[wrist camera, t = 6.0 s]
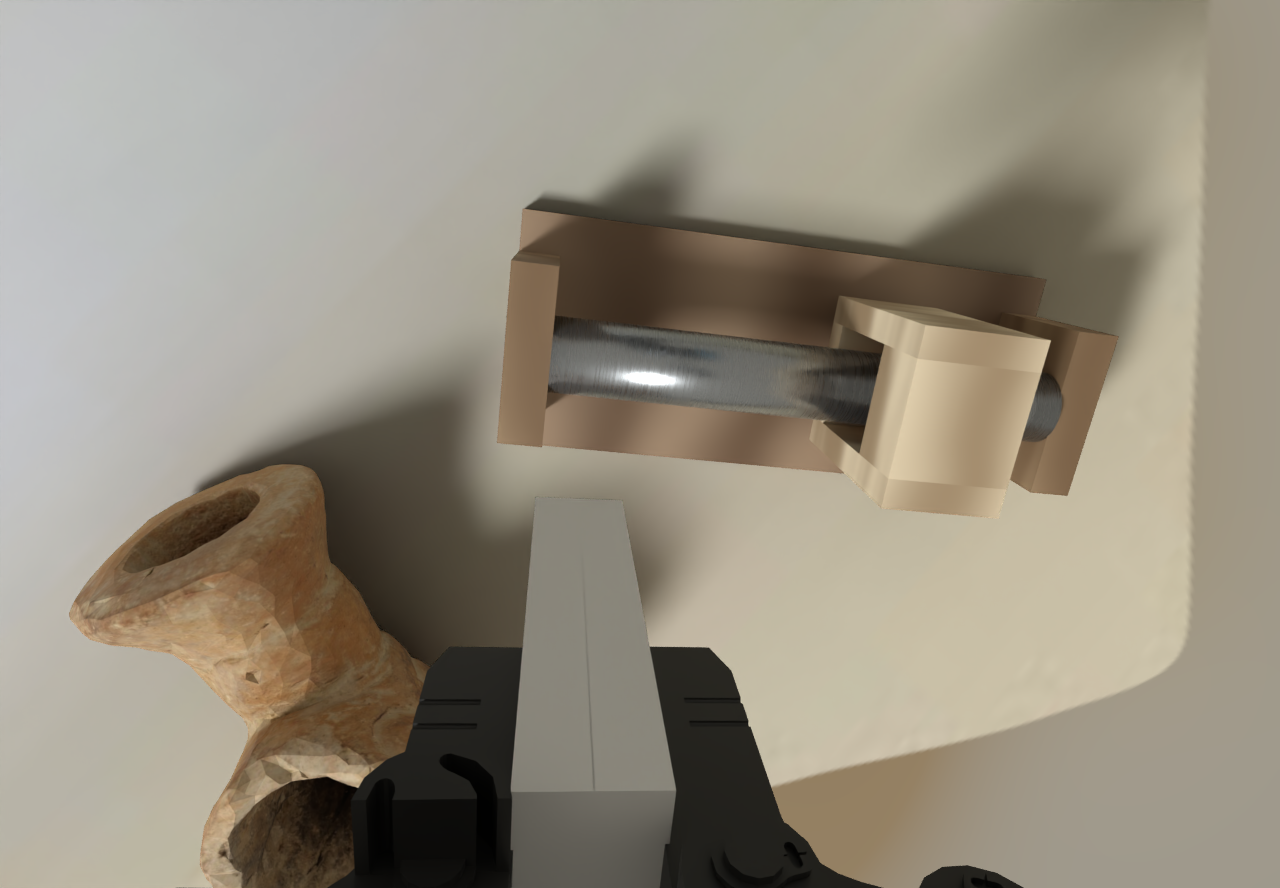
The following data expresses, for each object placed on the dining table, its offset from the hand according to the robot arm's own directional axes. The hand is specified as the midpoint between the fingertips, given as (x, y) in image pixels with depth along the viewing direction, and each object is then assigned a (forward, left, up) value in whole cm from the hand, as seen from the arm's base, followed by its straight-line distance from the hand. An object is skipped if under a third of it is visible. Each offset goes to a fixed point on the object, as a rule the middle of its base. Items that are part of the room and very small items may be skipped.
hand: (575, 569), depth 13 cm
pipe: (+12, -8, -18) cm, 24 cm away
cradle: (-1, +8, -18) cm, 20 cm away
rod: (-1, +8, -15) cm, 17 cm away
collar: (-1, +12, -16) cm, 20 cm away
